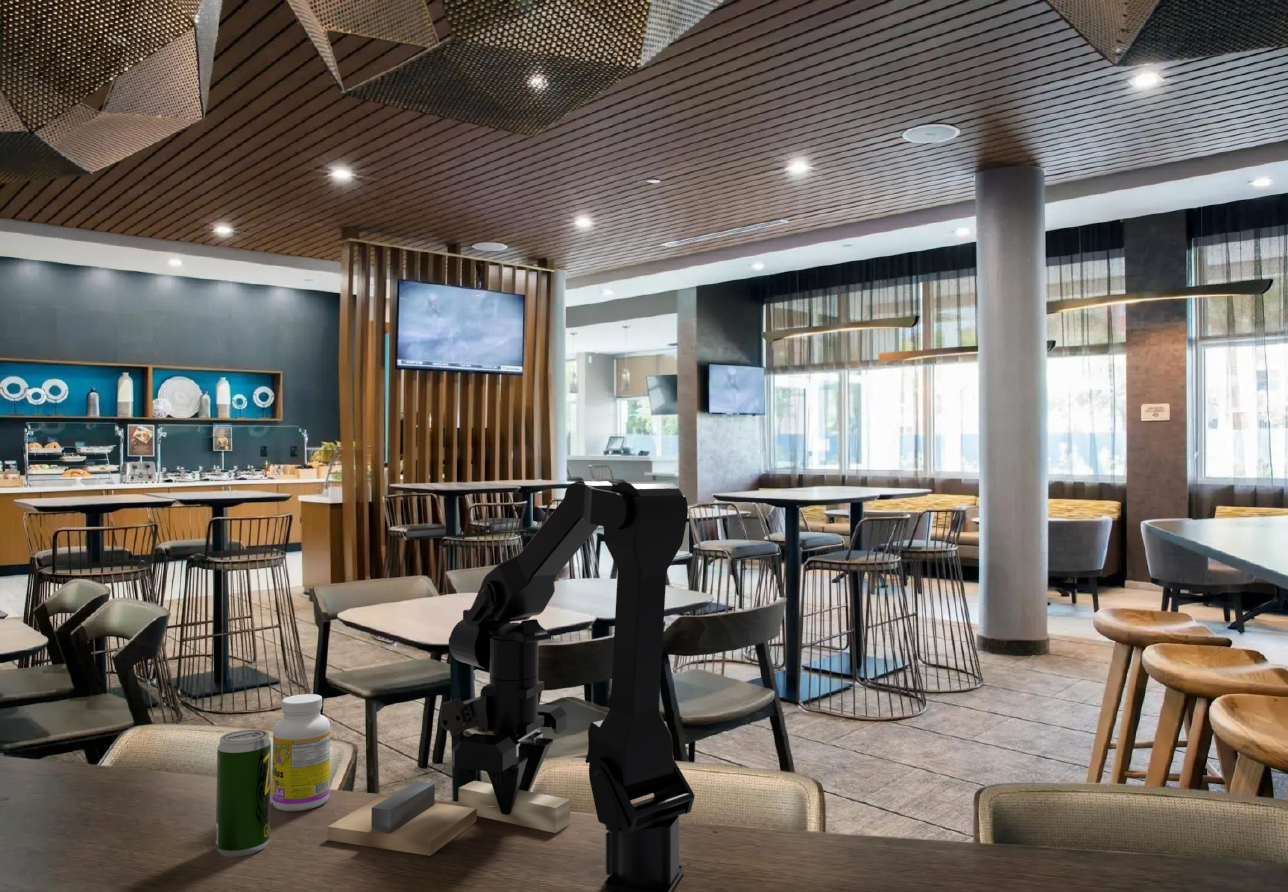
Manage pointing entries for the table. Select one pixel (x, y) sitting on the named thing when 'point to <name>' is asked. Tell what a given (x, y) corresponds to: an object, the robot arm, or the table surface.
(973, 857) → the table surface
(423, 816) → the balance board
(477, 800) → the rod
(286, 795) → the supplement bottle
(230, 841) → the beer can
